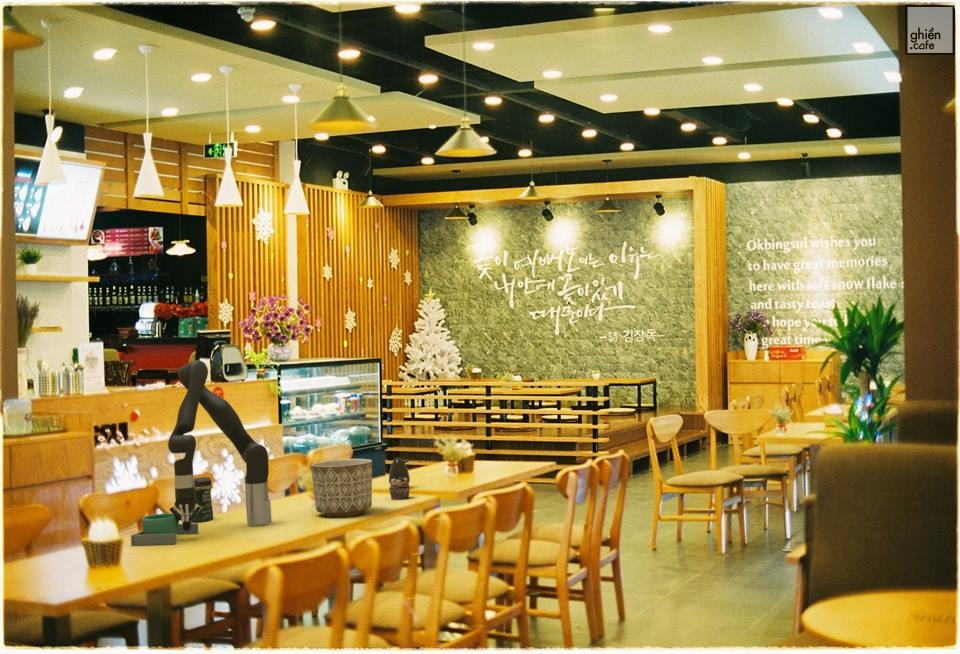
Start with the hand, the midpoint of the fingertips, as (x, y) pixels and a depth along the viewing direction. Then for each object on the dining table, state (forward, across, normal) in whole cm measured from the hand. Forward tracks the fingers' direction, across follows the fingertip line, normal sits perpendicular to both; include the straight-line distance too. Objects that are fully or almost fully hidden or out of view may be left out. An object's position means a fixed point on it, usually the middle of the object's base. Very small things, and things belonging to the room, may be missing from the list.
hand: (187, 530), depth 448 cm
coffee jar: (+3, +11, -44) cm, 45 cm away
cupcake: (+3, -66, -88) cm, 110 cm away
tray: (+3, +9, -1) cm, 9 cm away
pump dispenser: (+3, -60, -120) cm, 134 cm away
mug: (+3, +10, 0) cm, 10 cm away
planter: (+3, -50, -49) cm, 70 cm away
